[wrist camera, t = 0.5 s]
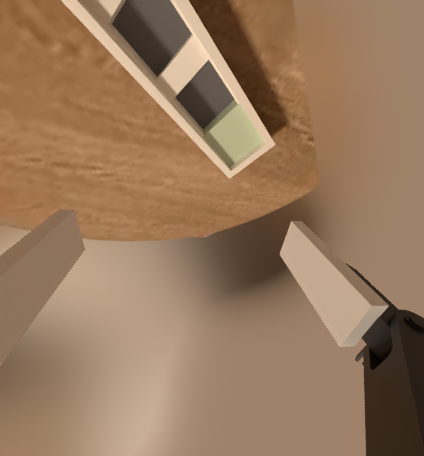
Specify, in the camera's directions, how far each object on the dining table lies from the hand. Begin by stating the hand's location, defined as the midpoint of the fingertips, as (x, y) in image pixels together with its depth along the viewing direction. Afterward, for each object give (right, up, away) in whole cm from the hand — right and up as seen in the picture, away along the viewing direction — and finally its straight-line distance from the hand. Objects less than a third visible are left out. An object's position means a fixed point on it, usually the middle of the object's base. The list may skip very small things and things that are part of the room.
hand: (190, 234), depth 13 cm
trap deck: (-3, +24, +16) cm, 29 cm away
